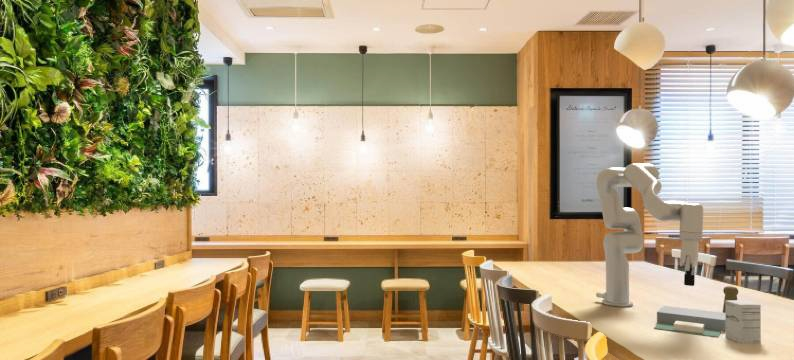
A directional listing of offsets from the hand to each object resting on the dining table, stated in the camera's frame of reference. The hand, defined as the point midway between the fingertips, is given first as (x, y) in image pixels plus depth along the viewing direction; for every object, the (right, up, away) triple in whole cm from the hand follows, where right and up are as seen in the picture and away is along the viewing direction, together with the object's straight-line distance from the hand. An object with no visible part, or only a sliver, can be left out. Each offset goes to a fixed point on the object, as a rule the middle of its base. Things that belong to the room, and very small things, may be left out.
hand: (689, 285), depth 203 cm
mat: (-6, -14, -10) cm, 18 cm away
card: (-6, -12, -11) cm, 17 cm away
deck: (+1, -14, 0) cm, 14 cm away
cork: (+26, -15, +17) cm, 35 cm away
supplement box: (+5, -14, -24) cm, 28 cm away
